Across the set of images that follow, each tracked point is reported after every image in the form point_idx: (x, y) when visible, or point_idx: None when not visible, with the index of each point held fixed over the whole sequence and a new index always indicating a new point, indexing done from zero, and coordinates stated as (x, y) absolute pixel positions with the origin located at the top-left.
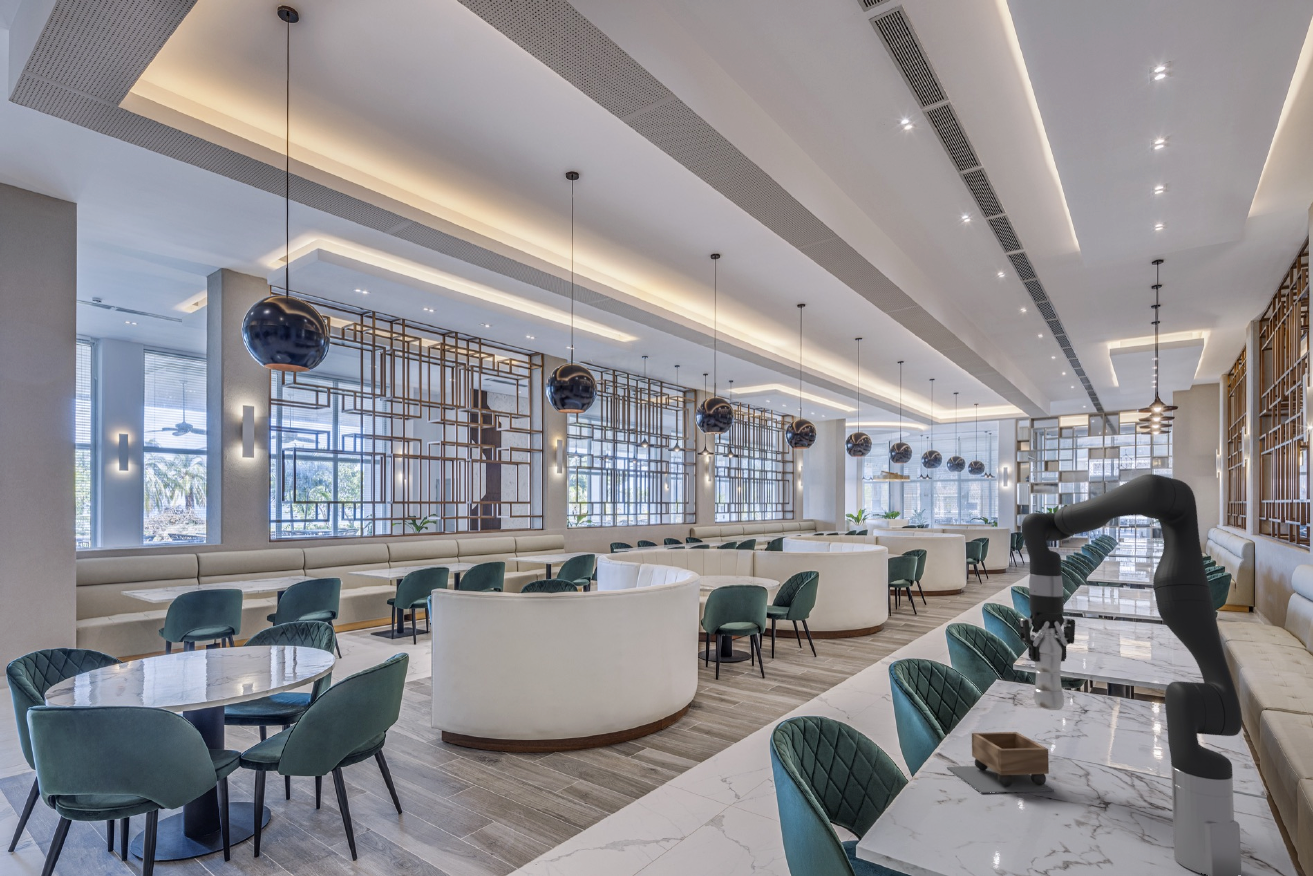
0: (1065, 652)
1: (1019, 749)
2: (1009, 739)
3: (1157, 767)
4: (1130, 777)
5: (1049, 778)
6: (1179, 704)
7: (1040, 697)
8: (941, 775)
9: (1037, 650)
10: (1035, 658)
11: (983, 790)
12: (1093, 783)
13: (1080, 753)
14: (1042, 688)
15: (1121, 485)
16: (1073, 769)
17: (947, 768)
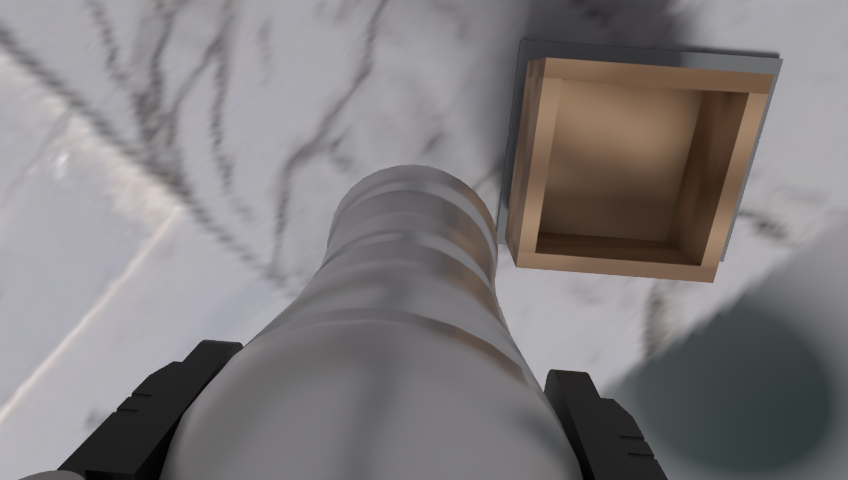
0: (124, 414)
1: (679, 73)
2: (555, 247)
3: (30, 167)
4: (176, 107)
5: (451, 141)
6: None
7: (494, 230)
8: (779, 216)
9: (602, 467)
10: (594, 394)
11: (765, 70)
12: (336, 81)
13: (205, 302)
14: (486, 245)
15: None
16: (318, 194)
17: (722, 256)
